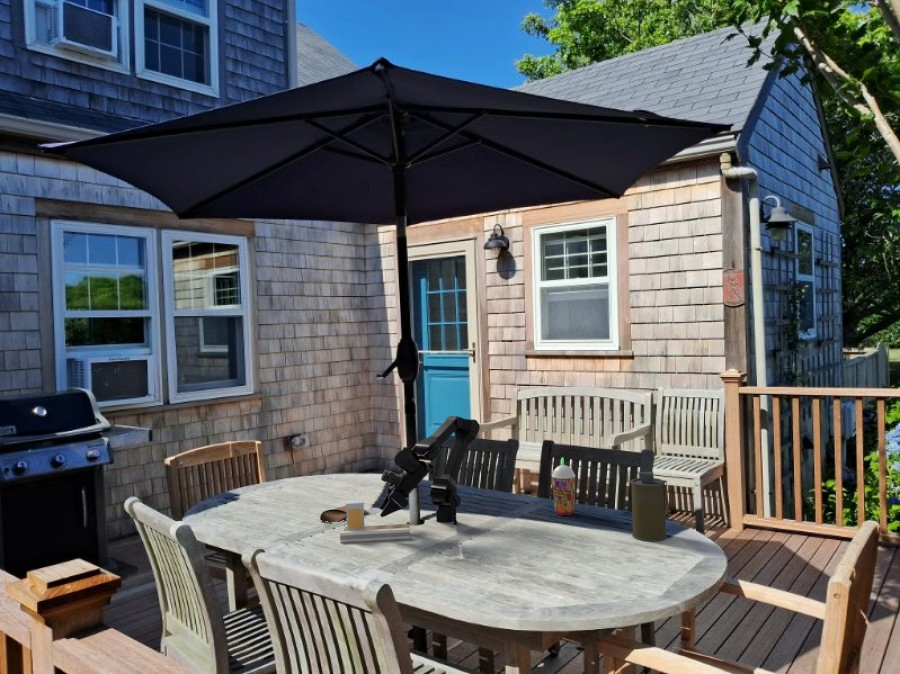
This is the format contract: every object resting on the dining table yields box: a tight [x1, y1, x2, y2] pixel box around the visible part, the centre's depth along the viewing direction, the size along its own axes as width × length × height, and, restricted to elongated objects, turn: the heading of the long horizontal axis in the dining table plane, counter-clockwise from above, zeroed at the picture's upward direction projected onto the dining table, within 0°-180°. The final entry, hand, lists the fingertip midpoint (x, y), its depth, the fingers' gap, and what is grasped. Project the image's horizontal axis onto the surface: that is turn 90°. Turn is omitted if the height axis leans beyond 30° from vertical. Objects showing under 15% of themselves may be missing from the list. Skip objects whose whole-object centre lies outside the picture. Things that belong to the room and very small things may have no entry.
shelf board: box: [339, 523, 411, 544], centre depth 239 cm, size 22×18×1 cm
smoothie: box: [551, 457, 576, 516], centre depth 257 cm, size 8×8×20 cm
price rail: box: [339, 527, 411, 543], centre depth 231 cm, size 22×2×3 cm, turn 93°
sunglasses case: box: [319, 505, 370, 522], centre depth 264 cm, size 18×7×7 cm
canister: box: [630, 471, 669, 542], centre depth 227 cm, size 11×10×20 cm
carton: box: [345, 499, 366, 531], centre depth 237 cm, size 6×5×11 cm
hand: (380, 512), depth 238 cm, fingers open, 9 cm apart
